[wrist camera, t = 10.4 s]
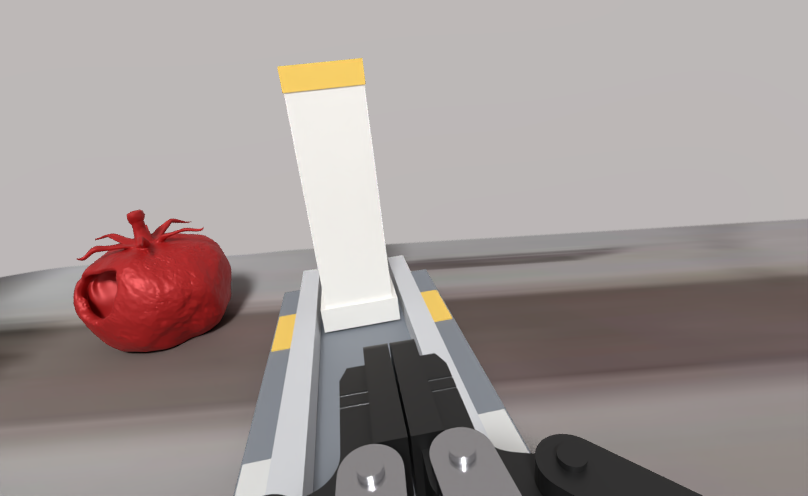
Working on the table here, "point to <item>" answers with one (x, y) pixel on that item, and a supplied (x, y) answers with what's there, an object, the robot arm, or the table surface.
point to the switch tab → (340, 190)
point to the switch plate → (322, 370)
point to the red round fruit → (153, 288)
